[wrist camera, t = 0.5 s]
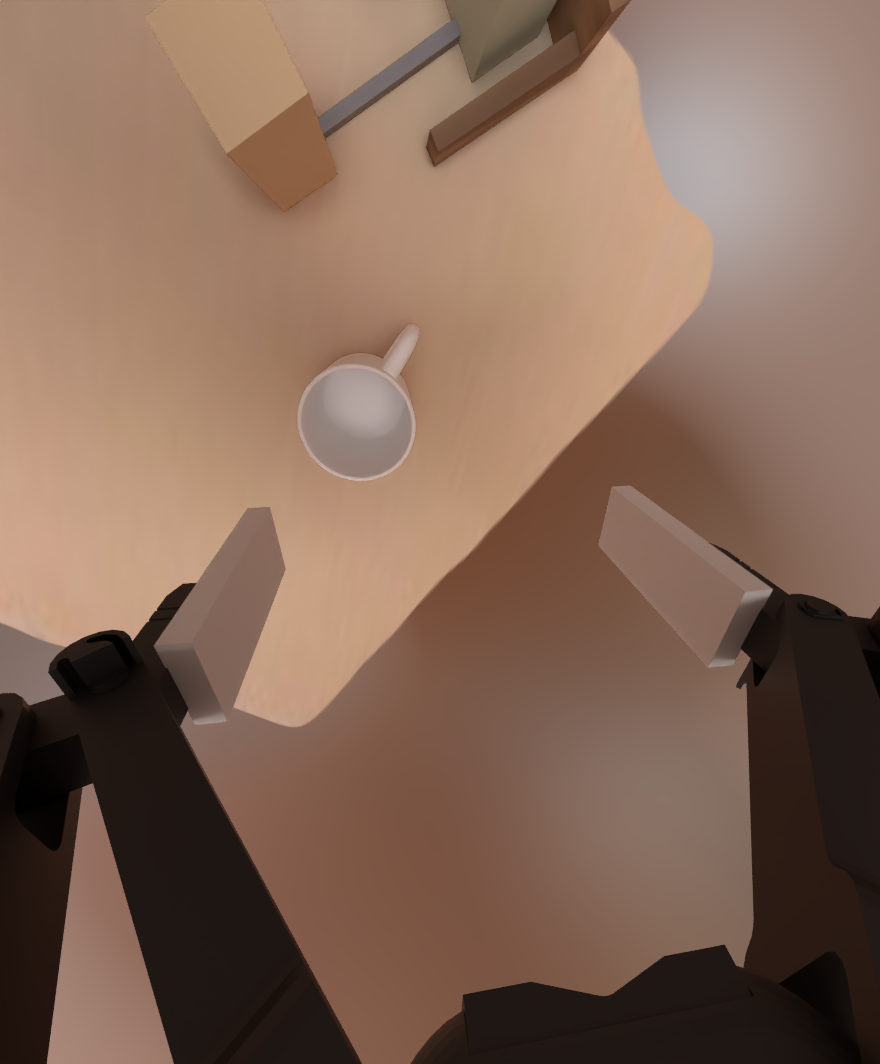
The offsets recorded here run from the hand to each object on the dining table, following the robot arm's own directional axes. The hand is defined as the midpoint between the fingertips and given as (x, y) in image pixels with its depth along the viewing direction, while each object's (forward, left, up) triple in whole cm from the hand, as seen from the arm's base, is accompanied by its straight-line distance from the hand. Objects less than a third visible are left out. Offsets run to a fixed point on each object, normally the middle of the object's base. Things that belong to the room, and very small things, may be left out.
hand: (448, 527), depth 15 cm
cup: (-3, -2, -25) cm, 26 cm away
